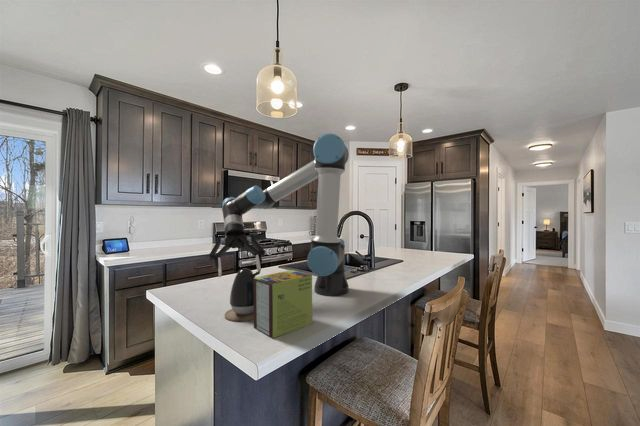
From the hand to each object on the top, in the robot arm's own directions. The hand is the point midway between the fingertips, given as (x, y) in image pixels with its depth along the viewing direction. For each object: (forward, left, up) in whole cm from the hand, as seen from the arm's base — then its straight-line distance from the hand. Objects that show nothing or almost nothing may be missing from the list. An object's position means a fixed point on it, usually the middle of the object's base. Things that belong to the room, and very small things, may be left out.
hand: (240, 273), depth 99 cm
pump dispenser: (-2, +4, -13) cm, 14 cm away
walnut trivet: (-2, +4, -13) cm, 14 cm away
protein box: (-15, +15, -14) cm, 25 cm away
